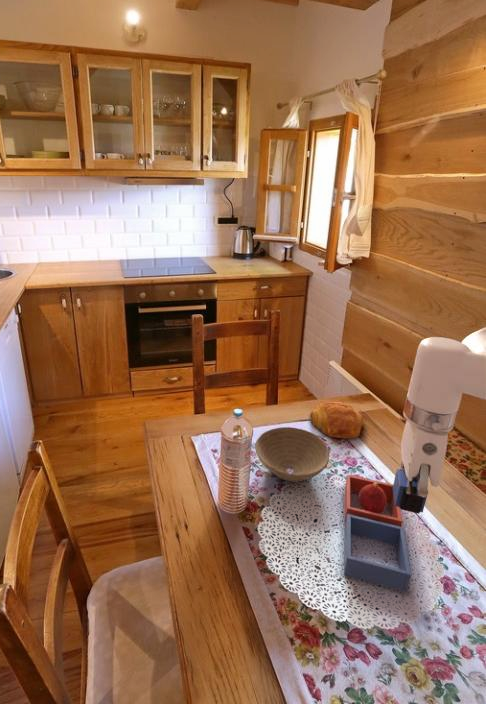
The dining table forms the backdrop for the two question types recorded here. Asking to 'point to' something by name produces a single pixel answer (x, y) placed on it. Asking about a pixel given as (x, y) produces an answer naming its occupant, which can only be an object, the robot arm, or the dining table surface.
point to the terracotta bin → (355, 486)
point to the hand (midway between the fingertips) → (407, 498)
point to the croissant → (337, 419)
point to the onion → (372, 498)
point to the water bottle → (235, 463)
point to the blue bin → (371, 569)
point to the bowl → (292, 453)
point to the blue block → (403, 487)
